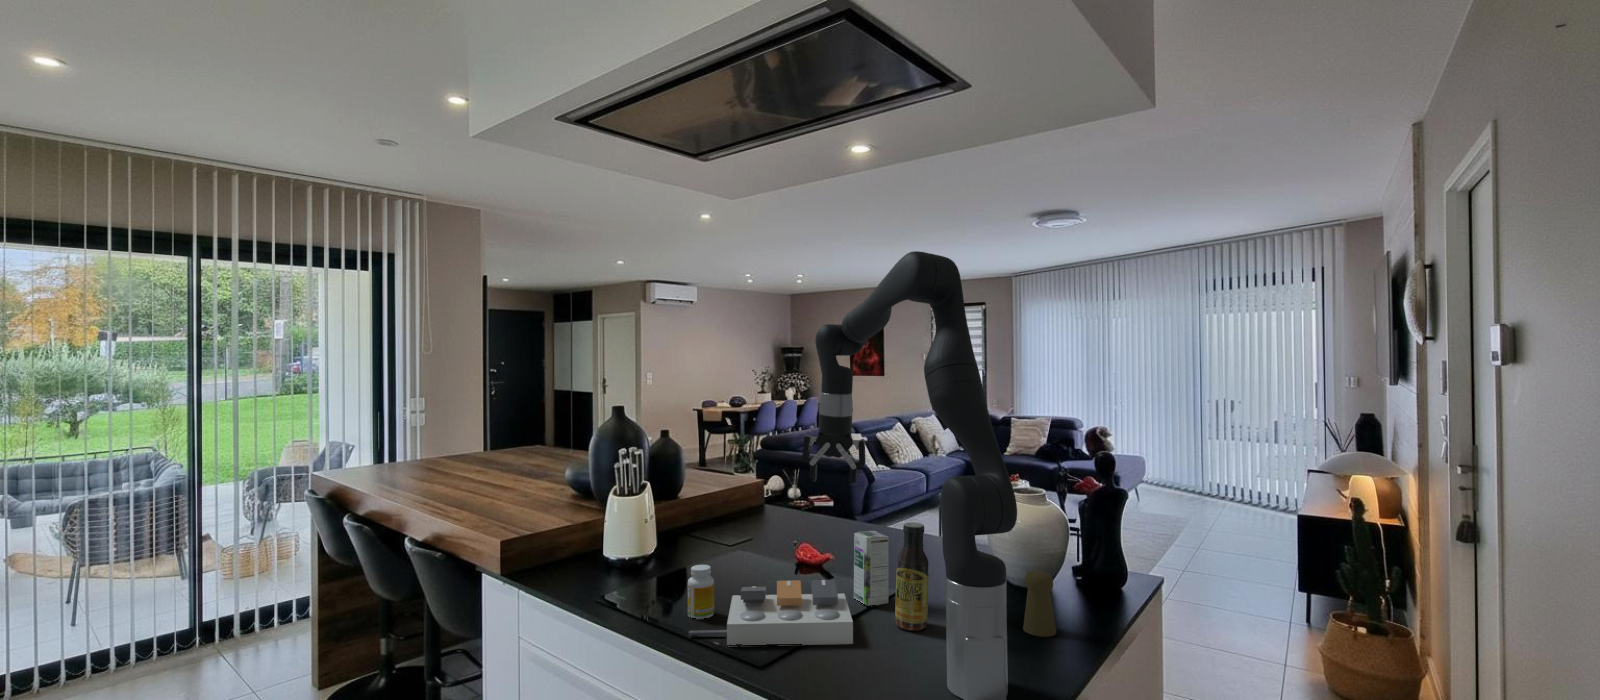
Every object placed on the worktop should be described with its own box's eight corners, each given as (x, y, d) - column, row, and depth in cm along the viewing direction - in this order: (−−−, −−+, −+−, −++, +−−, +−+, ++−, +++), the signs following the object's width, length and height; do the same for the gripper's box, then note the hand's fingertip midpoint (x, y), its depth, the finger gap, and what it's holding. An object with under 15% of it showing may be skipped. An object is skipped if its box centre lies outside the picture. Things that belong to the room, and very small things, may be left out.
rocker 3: (837, 609, 126) (837, 596, 125) (813, 609, 126) (813, 597, 125) (834, 591, 132) (835, 579, 132) (811, 591, 132) (811, 579, 131)
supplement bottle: (719, 613, 134) (719, 566, 134) (701, 622, 129) (701, 573, 130) (700, 608, 137) (700, 561, 137) (682, 616, 132) (682, 568, 133)
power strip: (853, 643, 119) (852, 620, 119) (685, 647, 118) (685, 623, 118) (844, 613, 134) (844, 592, 134) (695, 615, 133) (695, 594, 133)
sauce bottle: (890, 629, 125) (889, 525, 126) (901, 618, 131) (900, 519, 132) (923, 635, 122) (922, 529, 123) (933, 623, 128) (932, 522, 128)
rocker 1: (765, 604, 125) (765, 589, 125) (740, 604, 125) (740, 590, 125) (766, 599, 131) (766, 586, 132) (742, 600, 131) (742, 586, 132)
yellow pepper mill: (1059, 637, 121) (1058, 578, 121) (1025, 635, 122) (1024, 576, 122) (1053, 625, 127) (1052, 568, 127) (1021, 623, 128) (1020, 566, 128)
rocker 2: (801, 609, 126) (801, 597, 125) (776, 610, 125) (776, 597, 125) (800, 591, 132) (800, 579, 131) (776, 592, 132) (776, 580, 131)
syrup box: (852, 599, 142) (852, 532, 142) (876, 595, 144) (875, 529, 145) (866, 607, 137) (865, 538, 137) (890, 603, 139) (889, 535, 139)
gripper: (801, 412, 145) (798, 484, 146) (865, 417, 142) (862, 490, 143) (808, 407, 152) (805, 475, 153) (868, 412, 149) (865, 481, 150)
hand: (832, 482), depth 148 cm, fingers open, 8 cm apart
